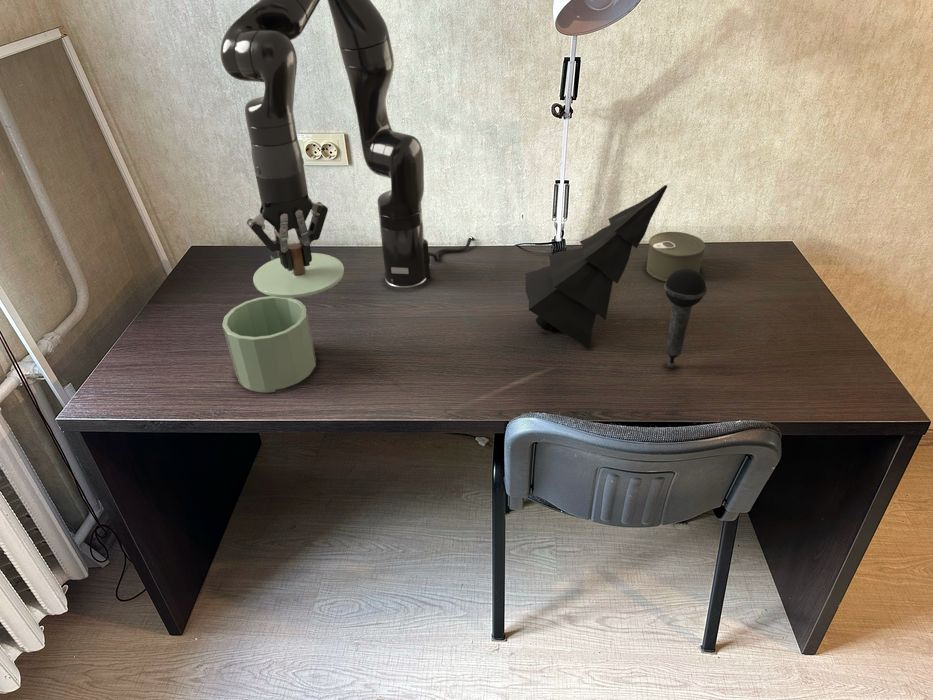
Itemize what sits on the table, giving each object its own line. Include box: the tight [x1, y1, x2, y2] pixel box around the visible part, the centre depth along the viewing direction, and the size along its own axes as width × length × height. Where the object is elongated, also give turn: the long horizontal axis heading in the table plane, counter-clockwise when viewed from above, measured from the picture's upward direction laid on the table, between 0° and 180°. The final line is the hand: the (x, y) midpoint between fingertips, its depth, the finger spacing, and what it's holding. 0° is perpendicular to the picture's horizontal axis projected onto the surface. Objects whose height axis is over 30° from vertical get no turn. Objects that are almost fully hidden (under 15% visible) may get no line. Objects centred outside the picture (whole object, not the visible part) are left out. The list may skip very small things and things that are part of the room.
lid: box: [252, 242, 345, 299], centre depth 115 cm, size 15×15×6 cm
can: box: [646, 231, 706, 282], centre depth 150 cm, size 12×12×7 cm
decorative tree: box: [525, 184, 668, 349], centre depth 125 cm, size 15×15×35 cm
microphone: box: [663, 268, 708, 369], centre depth 116 cm, size 7×7×20 cm
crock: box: [221, 295, 317, 394], centre depth 122 cm, size 14×14×12 cm
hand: (297, 266), depth 115 cm, fingers closed on lid, 2 cm apart
